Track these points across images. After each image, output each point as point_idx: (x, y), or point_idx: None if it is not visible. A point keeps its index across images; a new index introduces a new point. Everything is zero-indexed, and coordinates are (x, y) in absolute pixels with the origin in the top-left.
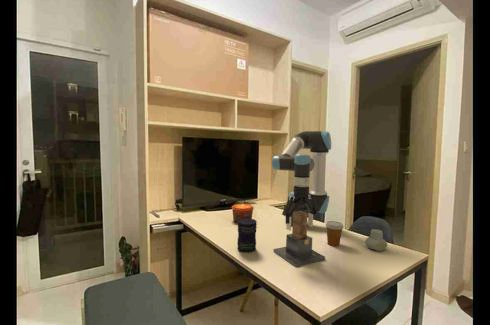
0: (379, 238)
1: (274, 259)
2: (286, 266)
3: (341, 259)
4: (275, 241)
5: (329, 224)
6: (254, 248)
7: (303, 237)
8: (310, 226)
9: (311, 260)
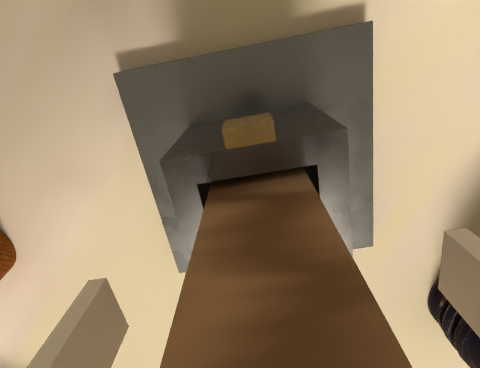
0: None
1: (419, 153)
2: (411, 48)
3: (7, 50)
4: None
5: None
6: None
7: (246, 186)
8: (112, 294)
9: (232, 49)
